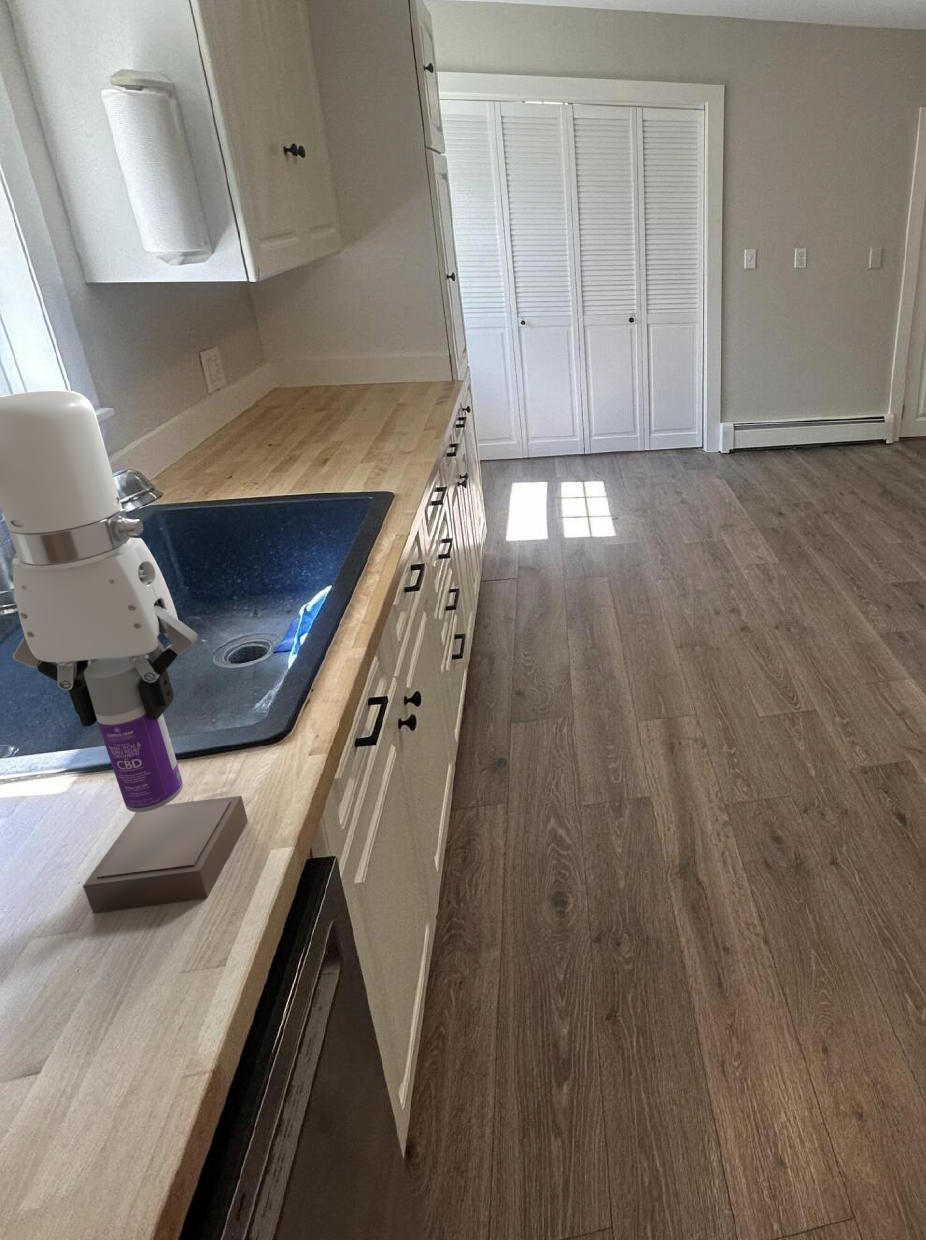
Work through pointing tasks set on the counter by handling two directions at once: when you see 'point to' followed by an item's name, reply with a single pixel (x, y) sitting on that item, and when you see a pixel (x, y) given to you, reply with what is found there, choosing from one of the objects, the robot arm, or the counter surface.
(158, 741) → the container
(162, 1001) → the counter surface
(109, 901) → the riser
